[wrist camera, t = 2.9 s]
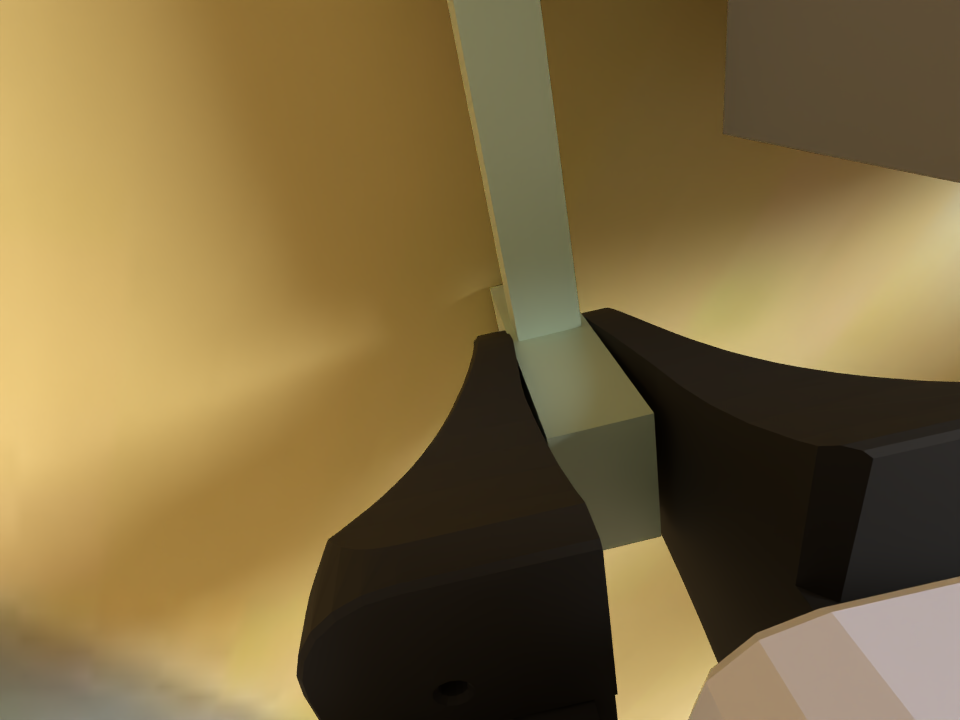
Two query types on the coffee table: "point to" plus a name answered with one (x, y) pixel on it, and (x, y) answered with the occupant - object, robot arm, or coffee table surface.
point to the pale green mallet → (550, 274)
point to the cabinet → (848, 80)
